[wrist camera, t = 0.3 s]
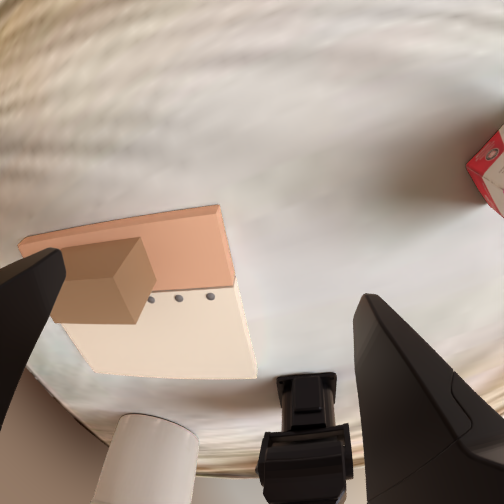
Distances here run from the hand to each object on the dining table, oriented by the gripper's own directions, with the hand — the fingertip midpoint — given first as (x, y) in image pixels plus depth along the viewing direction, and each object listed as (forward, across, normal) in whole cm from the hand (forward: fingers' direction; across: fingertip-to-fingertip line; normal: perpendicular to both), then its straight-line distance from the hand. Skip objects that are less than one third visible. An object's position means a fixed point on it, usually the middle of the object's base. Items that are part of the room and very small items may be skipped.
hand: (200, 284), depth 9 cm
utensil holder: (+14, +10, +45) cm, 48 cm away
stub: (+14, +10, +9) cm, 20 cm away
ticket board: (+14, +8, +18) cm, 24 cm away
